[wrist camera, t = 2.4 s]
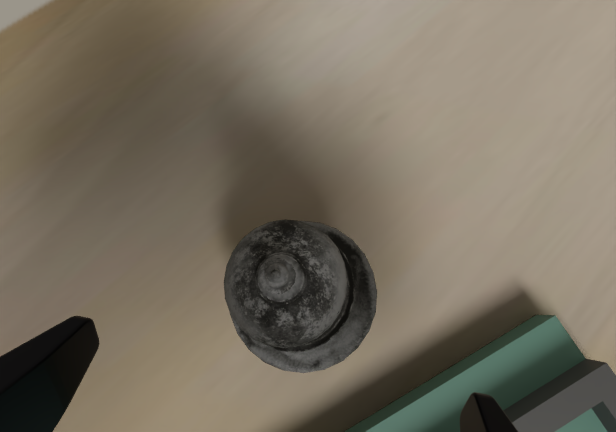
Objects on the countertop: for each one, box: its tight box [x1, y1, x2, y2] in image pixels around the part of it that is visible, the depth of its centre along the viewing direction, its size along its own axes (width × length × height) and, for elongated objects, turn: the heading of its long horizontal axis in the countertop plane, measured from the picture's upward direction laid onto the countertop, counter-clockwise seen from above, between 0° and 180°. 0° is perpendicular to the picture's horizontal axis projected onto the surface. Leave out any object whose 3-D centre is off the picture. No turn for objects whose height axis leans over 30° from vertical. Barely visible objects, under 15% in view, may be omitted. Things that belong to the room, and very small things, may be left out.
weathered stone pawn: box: [224, 220, 377, 373], centre depth 13 cm, size 6×6×12 cm
